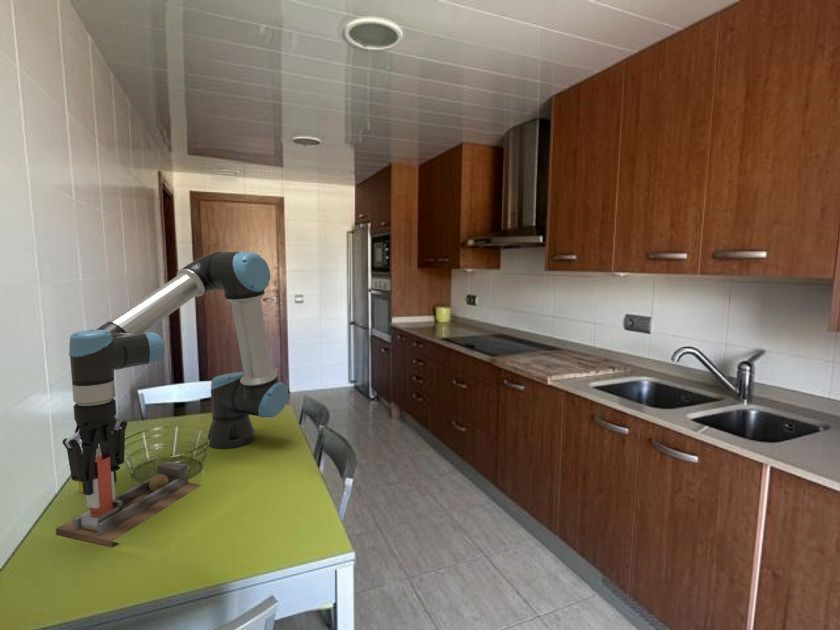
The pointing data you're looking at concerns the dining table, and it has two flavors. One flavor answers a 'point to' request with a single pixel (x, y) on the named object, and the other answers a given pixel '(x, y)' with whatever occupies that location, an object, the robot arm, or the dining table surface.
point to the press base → (134, 507)
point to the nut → (158, 482)
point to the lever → (102, 496)
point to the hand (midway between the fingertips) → (101, 502)
